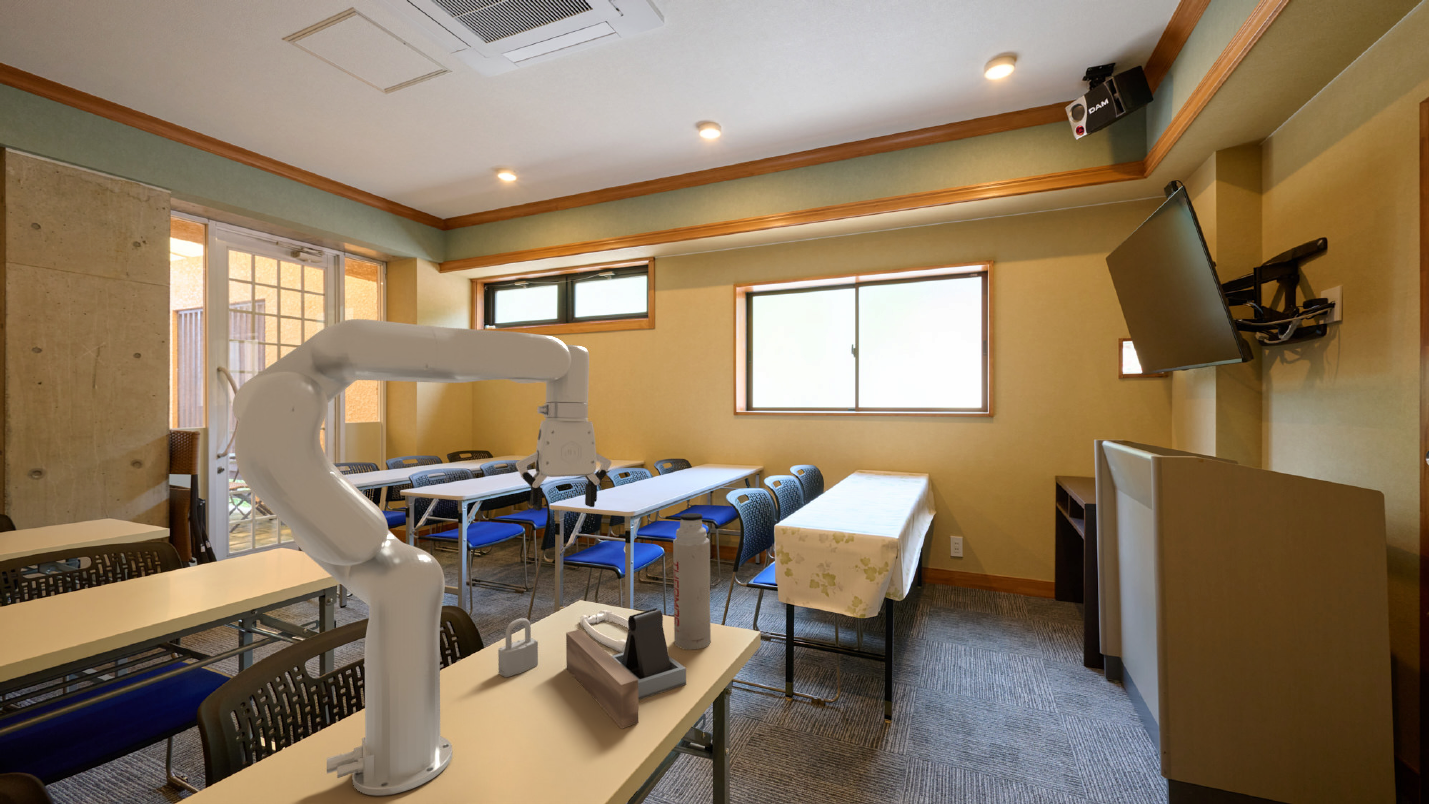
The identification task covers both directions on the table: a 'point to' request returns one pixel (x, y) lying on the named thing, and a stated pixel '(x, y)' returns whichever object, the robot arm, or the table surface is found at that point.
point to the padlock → (518, 651)
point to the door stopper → (646, 645)
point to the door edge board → (603, 678)
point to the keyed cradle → (658, 679)
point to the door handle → (600, 637)
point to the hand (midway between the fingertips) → (564, 507)
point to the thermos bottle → (691, 584)
